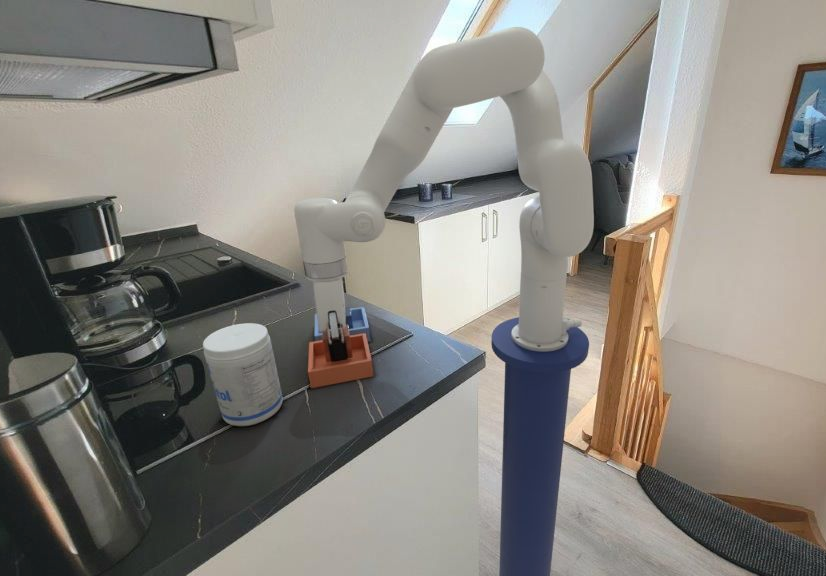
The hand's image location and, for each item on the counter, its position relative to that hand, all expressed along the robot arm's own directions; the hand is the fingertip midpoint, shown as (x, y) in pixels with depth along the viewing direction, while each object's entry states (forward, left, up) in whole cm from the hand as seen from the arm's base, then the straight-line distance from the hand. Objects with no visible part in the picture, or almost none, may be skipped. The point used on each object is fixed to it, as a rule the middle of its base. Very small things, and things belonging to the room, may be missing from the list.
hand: (338, 351), depth 81 cm
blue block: (-1, -14, -3) cm, 14 cm away
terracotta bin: (0, 0, -3) cm, 3 cm away
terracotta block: (0, 0, 0) cm, 0 cm away
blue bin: (-1, -14, -3) cm, 14 cm away
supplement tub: (+15, +9, -4) cm, 18 cm away
